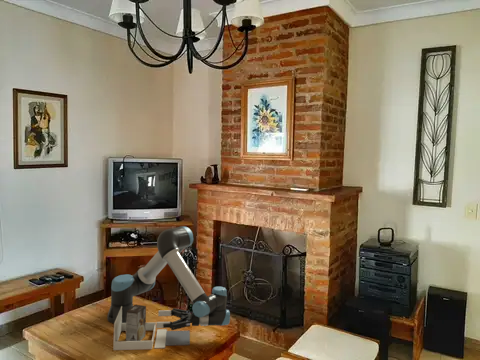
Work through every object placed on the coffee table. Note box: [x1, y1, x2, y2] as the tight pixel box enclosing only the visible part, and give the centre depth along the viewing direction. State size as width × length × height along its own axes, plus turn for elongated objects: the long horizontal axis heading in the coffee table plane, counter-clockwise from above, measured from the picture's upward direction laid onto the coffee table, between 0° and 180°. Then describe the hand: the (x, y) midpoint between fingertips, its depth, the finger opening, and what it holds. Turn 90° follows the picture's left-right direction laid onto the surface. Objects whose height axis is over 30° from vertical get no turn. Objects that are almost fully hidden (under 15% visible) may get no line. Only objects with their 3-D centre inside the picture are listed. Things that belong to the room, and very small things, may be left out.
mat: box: [165, 330, 191, 347], centre depth 191 cm, size 14×12×1 cm
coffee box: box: [125, 304, 147, 341], centre depth 187 cm, size 9×6×16 cm
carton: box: [112, 306, 168, 351], centre depth 188 cm, size 20×24×13 cm
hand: (157, 318), depth 189 cm, fingers open, 13 cm apart
